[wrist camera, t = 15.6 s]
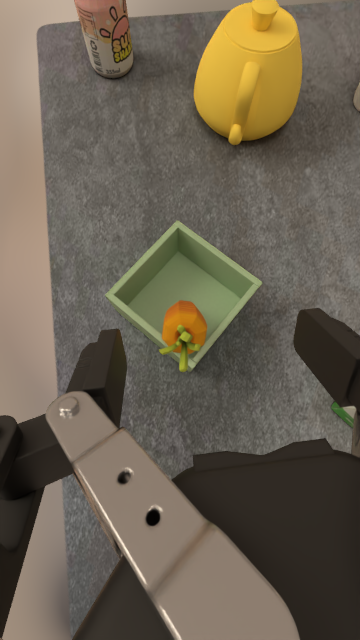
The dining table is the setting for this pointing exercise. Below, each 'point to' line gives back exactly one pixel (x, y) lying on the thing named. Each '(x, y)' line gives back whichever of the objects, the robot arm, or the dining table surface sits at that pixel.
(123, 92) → the dining table surface
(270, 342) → the dining table surface
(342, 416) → the ink box
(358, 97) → the coffee cup
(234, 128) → the teapot
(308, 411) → the dining table surface
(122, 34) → the beverage can
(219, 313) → the bin
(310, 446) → the robot arm
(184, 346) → the carrot
